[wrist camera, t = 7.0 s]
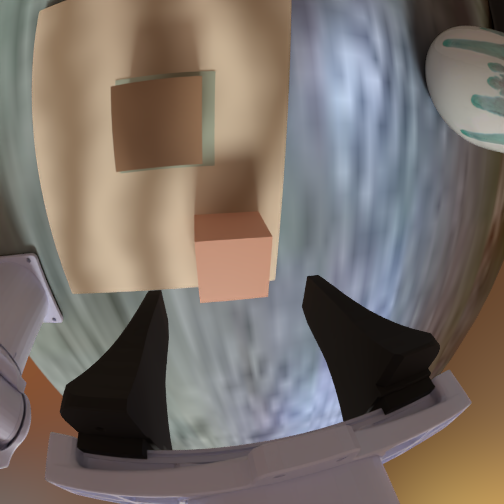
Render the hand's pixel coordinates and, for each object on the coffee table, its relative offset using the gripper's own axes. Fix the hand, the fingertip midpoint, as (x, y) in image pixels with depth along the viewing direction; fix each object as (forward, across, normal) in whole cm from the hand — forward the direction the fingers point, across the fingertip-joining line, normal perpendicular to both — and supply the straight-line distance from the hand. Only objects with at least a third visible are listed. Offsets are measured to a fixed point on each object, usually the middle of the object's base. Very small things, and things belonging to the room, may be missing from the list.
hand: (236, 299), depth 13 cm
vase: (+9, -22, -15) cm, 28 cm away
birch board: (+9, +4, -7) cm, 12 cm away
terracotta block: (+8, 0, +1) cm, 8 cm away
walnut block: (+8, +4, -8) cm, 12 cm away
